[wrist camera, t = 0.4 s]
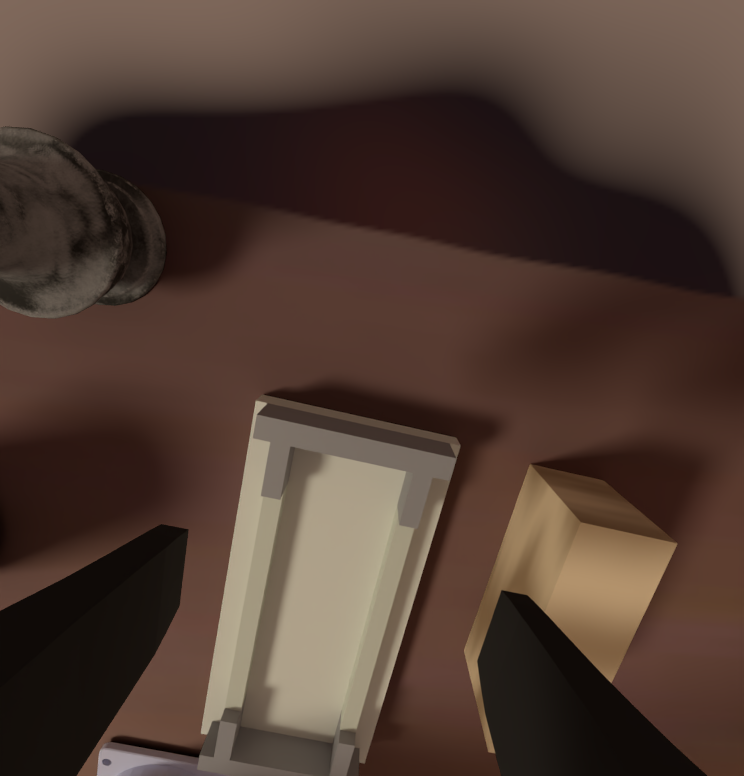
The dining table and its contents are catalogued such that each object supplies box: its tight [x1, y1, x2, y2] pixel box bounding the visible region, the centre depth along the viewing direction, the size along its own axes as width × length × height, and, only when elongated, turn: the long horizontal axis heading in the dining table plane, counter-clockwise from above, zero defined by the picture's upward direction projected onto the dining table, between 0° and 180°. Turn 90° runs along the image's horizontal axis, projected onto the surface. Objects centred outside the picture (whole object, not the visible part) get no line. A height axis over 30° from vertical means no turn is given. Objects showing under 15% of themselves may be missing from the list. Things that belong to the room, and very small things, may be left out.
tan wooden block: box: [464, 464, 678, 753], centre depth 18 cm, size 11×4×5 cm, turn 167°
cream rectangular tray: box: [197, 395, 460, 776], centre depth 19 cm, size 19×9×3 cm, turn 167°
